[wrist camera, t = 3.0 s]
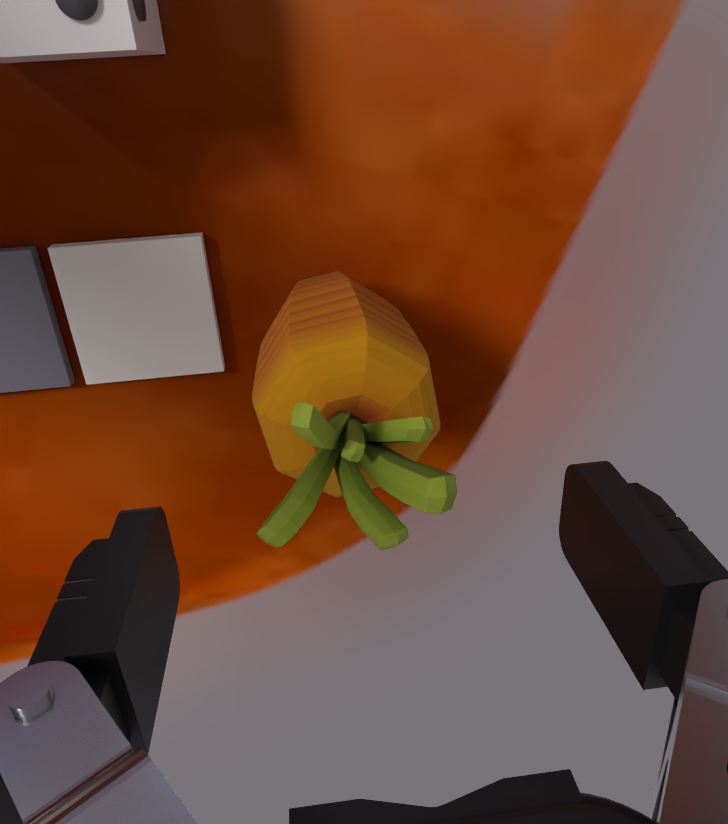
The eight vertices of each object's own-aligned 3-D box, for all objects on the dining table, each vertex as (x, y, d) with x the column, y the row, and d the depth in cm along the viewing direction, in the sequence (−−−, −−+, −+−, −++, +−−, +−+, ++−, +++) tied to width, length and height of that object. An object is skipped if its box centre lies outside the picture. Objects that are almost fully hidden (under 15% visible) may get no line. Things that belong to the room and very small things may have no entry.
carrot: (254, 343, 26) (230, 618, 13) (268, 219, 24) (255, 400, 11) (373, 357, 27) (464, 628, 14) (397, 239, 25) (531, 429, 12)
